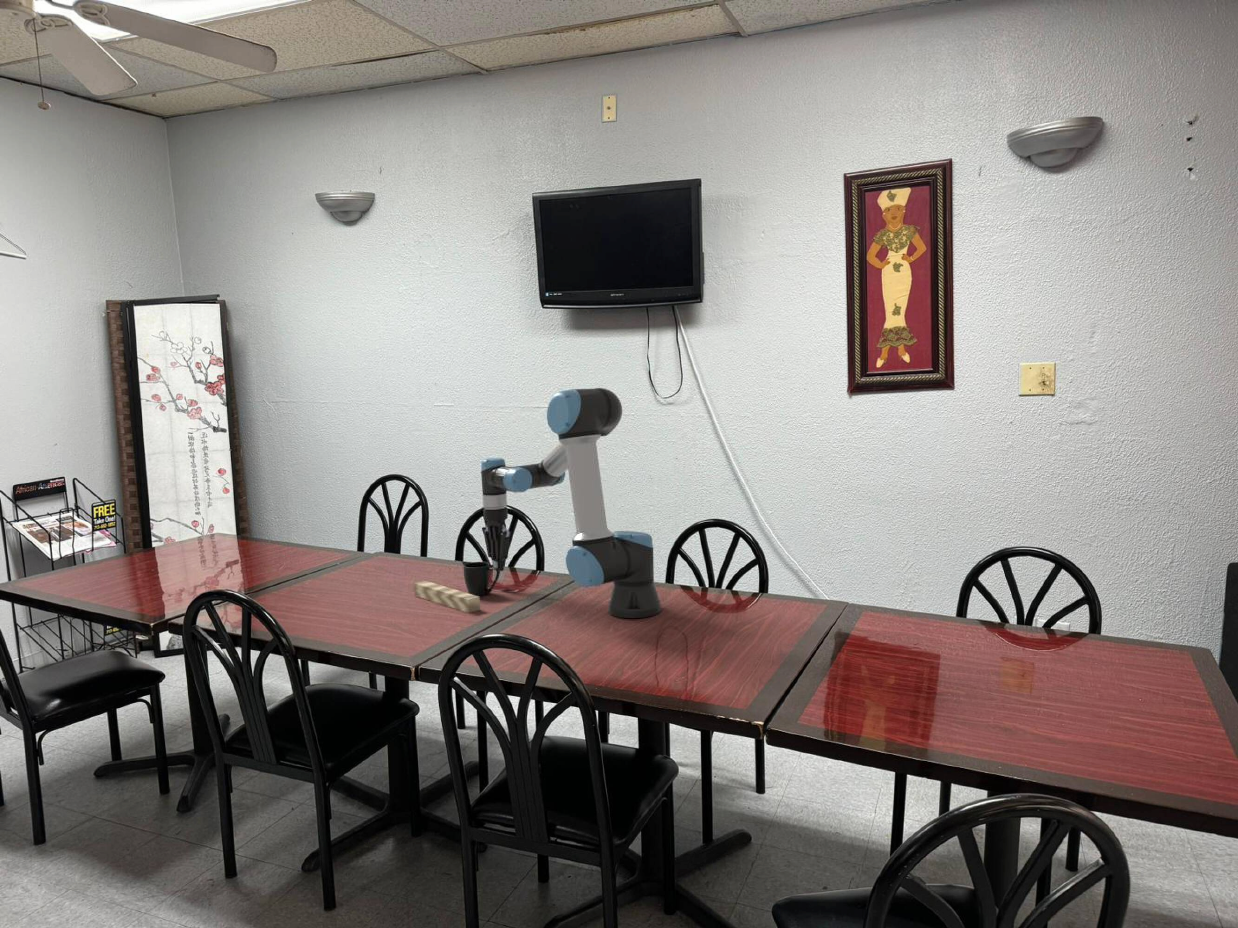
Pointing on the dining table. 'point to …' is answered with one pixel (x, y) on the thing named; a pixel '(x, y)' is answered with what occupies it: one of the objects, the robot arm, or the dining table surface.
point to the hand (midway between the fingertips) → (498, 580)
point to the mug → (479, 578)
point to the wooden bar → (447, 596)
